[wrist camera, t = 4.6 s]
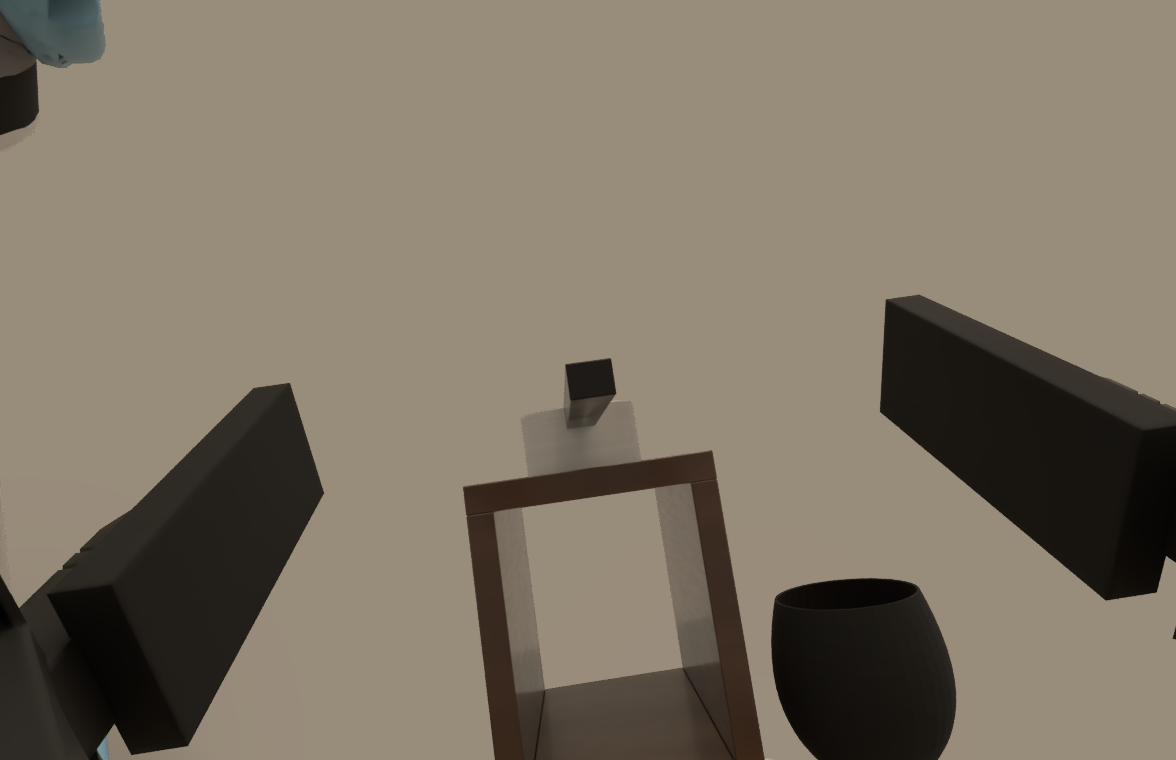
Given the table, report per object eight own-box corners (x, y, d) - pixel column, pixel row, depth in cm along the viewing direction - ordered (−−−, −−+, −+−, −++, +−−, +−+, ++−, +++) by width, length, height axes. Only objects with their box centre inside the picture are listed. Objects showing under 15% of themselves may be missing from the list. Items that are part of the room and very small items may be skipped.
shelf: (814, 1050, 33) (712, 449, 37) (534, 1101, 33) (462, 486, 37) (730, 849, 51) (668, 458, 55) (549, 879, 50) (499, 482, 54)
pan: (702, 450, 28) (684, 346, 29) (502, 479, 28) (489, 372, 28) (634, 462, 54) (626, 407, 55) (531, 478, 54) (523, 421, 54)
